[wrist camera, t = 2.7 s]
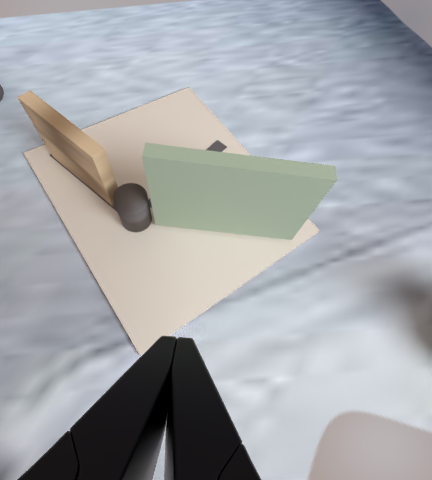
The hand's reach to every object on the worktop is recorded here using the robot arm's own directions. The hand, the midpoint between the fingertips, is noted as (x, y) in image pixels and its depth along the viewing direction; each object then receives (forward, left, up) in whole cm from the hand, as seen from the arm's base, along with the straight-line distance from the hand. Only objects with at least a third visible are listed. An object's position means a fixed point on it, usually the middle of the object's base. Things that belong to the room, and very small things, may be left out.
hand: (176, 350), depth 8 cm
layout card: (+7, +12, -13) cm, 19 cm away
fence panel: (+8, +7, -13) cm, 17 cm away
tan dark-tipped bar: (+2, +16, -13) cm, 20 cm away
